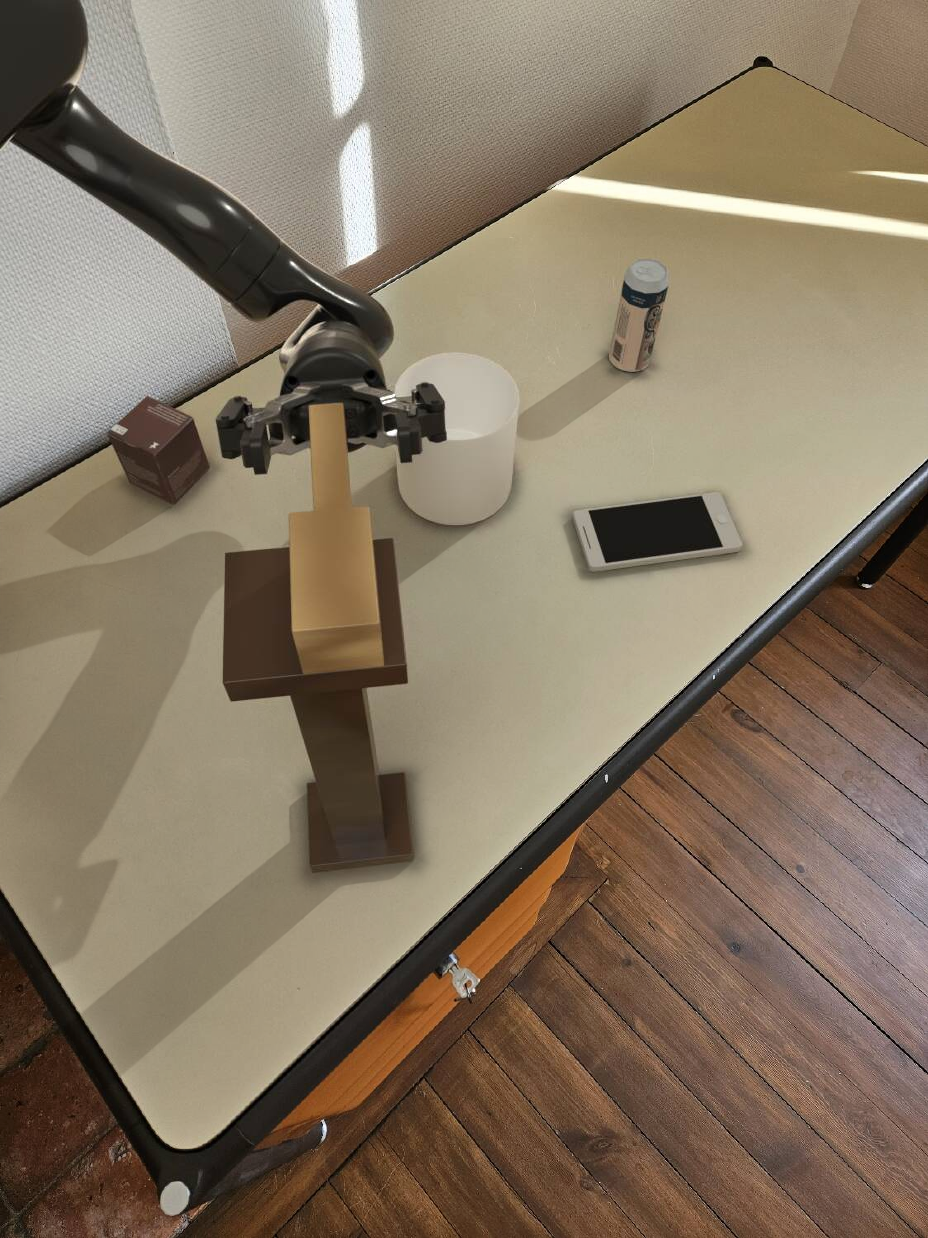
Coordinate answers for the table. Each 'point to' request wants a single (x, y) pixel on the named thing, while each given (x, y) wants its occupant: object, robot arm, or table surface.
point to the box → (159, 449)
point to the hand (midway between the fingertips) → (332, 452)
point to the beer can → (639, 314)
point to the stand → (323, 708)
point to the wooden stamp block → (333, 561)
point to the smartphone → (656, 531)
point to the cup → (462, 440)
